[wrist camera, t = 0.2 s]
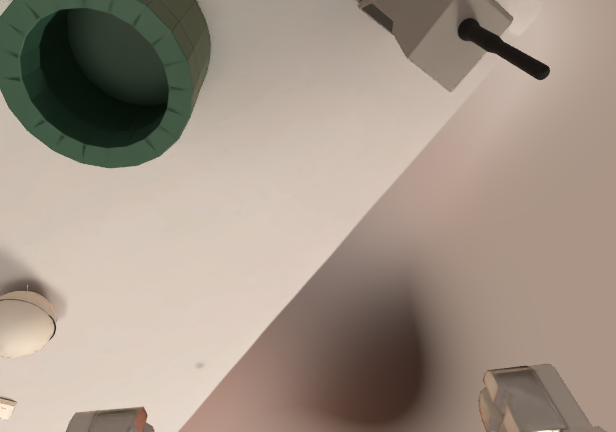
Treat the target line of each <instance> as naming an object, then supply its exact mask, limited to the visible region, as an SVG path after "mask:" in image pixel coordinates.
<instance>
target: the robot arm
mask: <svg viewBox="0 0 616 432" xmlns="http://www.w3.org/2000/svg"><path fill="white" fill-rule="evenodd" d="M483 382H484V384H485V386H486V387H485V388H484V389H483V390H481V391H480V395H479V411H480V415H481V418H482V422H483V424H484V427H485V429H486V431H487V432H606V431H605V430H604V429H602V428H601V427H599V426H598V427H592V425H591V424H590V422H589V420H588V419H587V417H586V416H585V414H584V413H583V411H582V410H581V408H580V407H579V405H578V403H577V402H576V400H575V399H574V397H573V396H572V394H571V392H570V391H569V389H568V388H567V386H566V384H565V383H564V381H563V380H562V378H561V377H560V375H559V373H558V372H557V370H556V369H555V368H554V367H553V366H552V365H551V364H542V365H534V366H520V367H512V368H504V369H495V370H488V371H486V372H485V374H484V377H483ZM146 419H147V413H146V411H145V409H144V407H134V408H123V409H112V410H101V411H99V410H98V411H89V412H79V413H76V414H75V415H74V416H73V417H72V419H71V420H70V422H69V425H68V427H67V430H66V432H154V429H153V427H152V426H151V425H150V424H148V423H146Z"/></svg>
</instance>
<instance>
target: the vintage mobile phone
mask: <svg viewBox="0 0 616 432" xmlns="http://www.w3.org/2000/svg"><path fill="white" fill-rule="evenodd" d="M358 7H359V8H360V9H361V10H362V11H363V12H364V13H366V14H367V15H368V16H369V17H371V18H372V19H373V20H374V21H376V22H377V23H378V24H379V25H381V26H382V27H383V28H384V29H386V30H387V31H388V32H389V33H391V34H392V35H394V36H395V38H396V40H397V42H398V43H399V45H400V47H401V49H402V51H403V52H404V54H405V56H406V57H407V59H409V60H410V61H411V62H413V63H414V64H415V65H416V66H418V67H419V68H420V69H421V70H423V71H424V72H425V73H426V74H428V75H429V76H430V77H432V78H433V79H434V80H435V81H437V82H438V83H439V84H440V85H442V86H443V87H444V88H445V89H447V90H448V91H449V92H452V91H453V90H454V89H455V88H456V87H457V85H458V84H459V83H460V82H461V81H462V80H463V78H464V77H465V76H466V75H467V74H468V73H469V72H470V70H471V69H472V68H473V67H474V66H475V65H476V63H477V62H478V61H479V60H480V59H481V58H482V57H483V55H484V54H485V53H486V52H491V53H495V54H497V55H499V56H500V57H502V58H504V59H506V60H507V61H508V62H510V63H512V64H513V65H515V66H517V67H518V68H520V69H521V70H523V71H525V72H526V73H528V74H529V75H531V76H533V77H534V78H536V79H538V80H543V79H545V78H546V77H547V76H548V75H549V73H550V68H549V67H548V66H547V65H545V64H543V63H541V62H540V61H538V60H536V59H534V58H532V57H530V56H528V55H527V54H525V53H523V52H521V51H519V50H518V49H516V48H514V47H512V46H510V45H509V44H507V43H505V42H503V41H502V40H501V38H500V36H501V35H502V33H503V32H504V31H505V30H506V29H507V28H508V27H509V25H510V24H511V23H512V21H513V17H512V16H511V15H510V14H509V13H508V12H507V11H506V10H505V9H504V8H503V7H502V6H501V5H499V4H498V3H497V2H496V1H495V0H362V1H361V3H360V4H359V6H358Z"/></svg>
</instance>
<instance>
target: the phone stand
mask: <svg viewBox="0 0 616 432" xmlns="http://www.w3.org/2000/svg"><path fill="white" fill-rule="evenodd" d="M15 406H16V402H12V401H9V400H5V399H1V398H0V419H3V420H7V421H8V420H9V418H10V416H11V414H12V412H13V410H14V408H15Z"/></svg>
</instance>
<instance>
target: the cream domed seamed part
mask: <svg viewBox="0 0 616 432" xmlns="http://www.w3.org/2000/svg"><path fill="white" fill-rule="evenodd" d="M27 288H28V285H27ZM56 321H57V319H56V315H55V311H54V307H53V306H52V305H51V303H50V302H49V301H48V300H47V299H46V298H44V297H43V296H42V295H39V294H37V293H34V292H30V291H14V292H10V293H7V294H5V295H2V296H1V297H0V356H2V357H8V358H17V357H23V356H27V355H30V354H32V353H34V352H36V351H37V350H39V349H41V348H42V347H44V345H45V344H46V343H47V342H48V341H49V340H50V339H51V338H52V337H53V336H54V334H55V331H56Z"/></svg>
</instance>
